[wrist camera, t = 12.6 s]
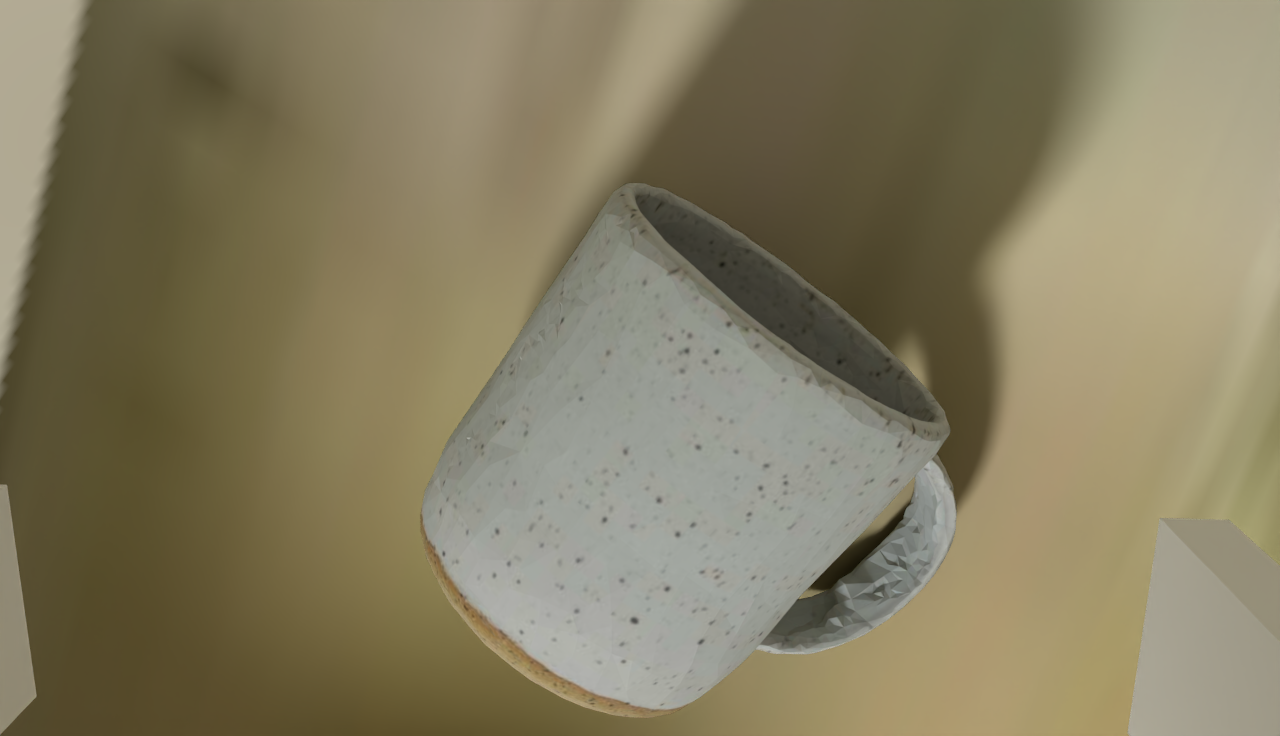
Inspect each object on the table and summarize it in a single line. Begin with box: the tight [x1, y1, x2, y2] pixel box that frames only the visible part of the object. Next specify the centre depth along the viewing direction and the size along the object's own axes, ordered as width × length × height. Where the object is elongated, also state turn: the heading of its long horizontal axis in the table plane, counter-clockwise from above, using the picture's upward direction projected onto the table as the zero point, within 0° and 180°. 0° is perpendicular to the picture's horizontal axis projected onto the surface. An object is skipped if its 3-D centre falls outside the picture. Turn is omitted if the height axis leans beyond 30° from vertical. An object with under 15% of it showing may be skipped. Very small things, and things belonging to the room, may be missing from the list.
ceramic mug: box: [421, 183, 956, 718], centre depth 23 cm, size 11×8×8 cm
